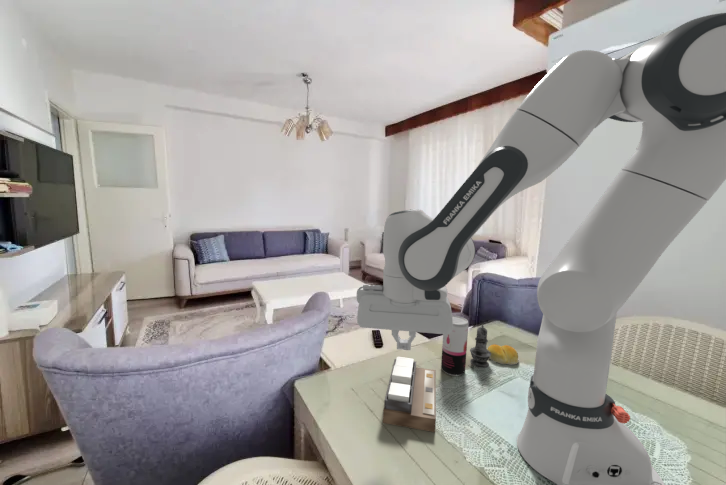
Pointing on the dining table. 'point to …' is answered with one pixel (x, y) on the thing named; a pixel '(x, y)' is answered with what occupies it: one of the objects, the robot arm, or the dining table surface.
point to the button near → (399, 392)
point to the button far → (404, 362)
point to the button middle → (402, 375)
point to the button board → (414, 402)
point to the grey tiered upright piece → (480, 349)
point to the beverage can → (455, 347)
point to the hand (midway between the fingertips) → (403, 348)
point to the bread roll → (503, 354)
